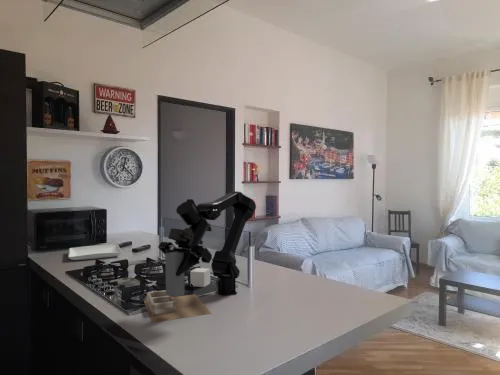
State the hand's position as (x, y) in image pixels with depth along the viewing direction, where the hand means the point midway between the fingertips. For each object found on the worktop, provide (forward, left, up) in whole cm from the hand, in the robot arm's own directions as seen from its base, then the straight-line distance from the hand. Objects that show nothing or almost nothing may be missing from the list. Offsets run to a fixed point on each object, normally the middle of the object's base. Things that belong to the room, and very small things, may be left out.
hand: (171, 274), depth 113 cm
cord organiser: (-2, -7, -13) cm, 15 cm away
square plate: (+23, -115, -14) cm, 118 cm away
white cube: (-17, -32, -14) cm, 39 cm away
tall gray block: (-1, -1, -7) cm, 7 cm away
